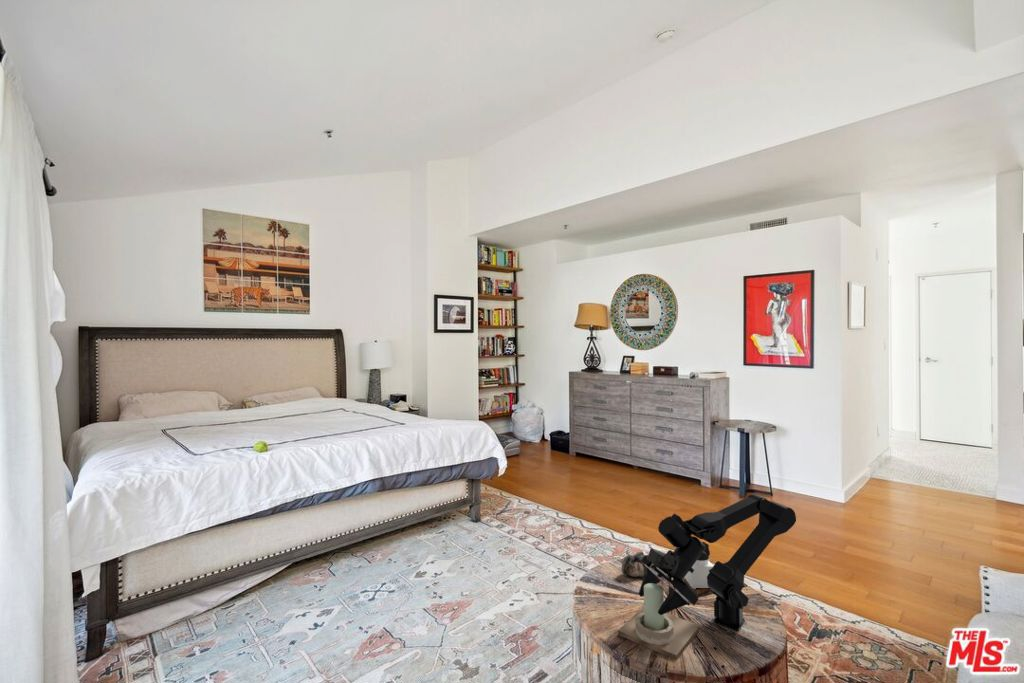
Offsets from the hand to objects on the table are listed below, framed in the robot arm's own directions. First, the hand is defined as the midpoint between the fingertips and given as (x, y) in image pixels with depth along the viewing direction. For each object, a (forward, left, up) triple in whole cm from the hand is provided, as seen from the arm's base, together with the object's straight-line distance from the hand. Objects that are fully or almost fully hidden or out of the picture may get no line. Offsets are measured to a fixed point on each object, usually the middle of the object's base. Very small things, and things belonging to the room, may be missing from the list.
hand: (649, 604), depth 126 cm
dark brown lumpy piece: (+17, -30, -9) cm, 36 cm away
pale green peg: (-1, -1, -8) cm, 8 cm away
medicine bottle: (0, -37, -9) cm, 38 cm away
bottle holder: (-1, -4, -9) cm, 10 cm away
